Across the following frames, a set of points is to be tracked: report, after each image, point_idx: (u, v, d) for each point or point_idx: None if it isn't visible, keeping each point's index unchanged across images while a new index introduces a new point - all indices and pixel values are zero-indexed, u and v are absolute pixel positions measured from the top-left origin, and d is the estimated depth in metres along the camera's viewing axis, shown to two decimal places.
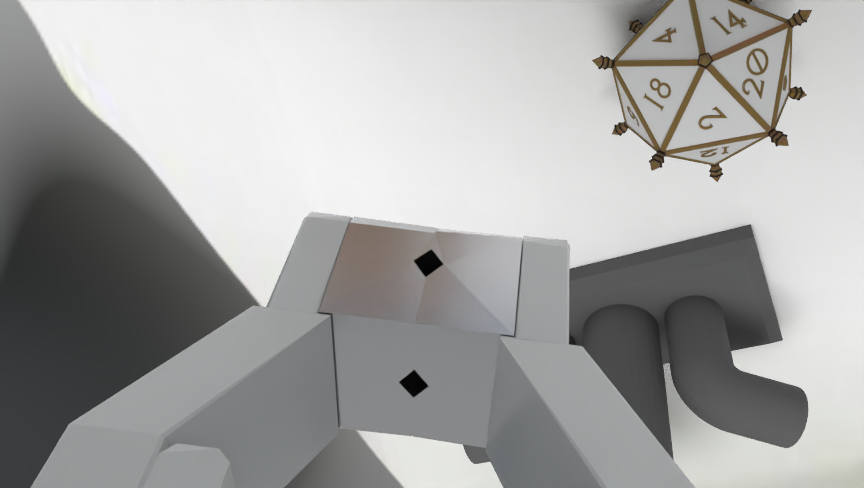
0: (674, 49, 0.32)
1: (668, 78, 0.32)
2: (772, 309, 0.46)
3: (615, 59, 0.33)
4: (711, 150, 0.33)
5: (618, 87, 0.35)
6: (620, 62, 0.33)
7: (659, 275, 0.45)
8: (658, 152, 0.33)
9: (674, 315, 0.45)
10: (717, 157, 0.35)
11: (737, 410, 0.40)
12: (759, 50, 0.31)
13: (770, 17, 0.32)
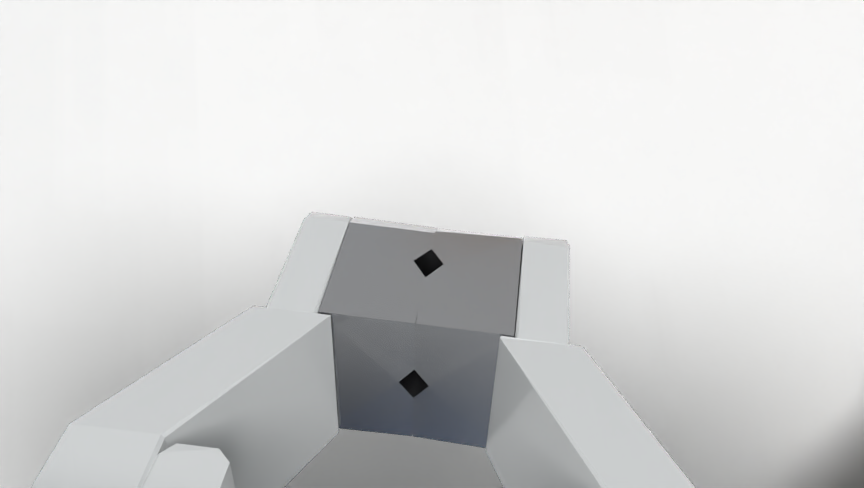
0: None
1: None
2: None
3: None
4: None
5: None
6: None
7: None
8: None
9: None
10: None
11: None
12: None
13: None
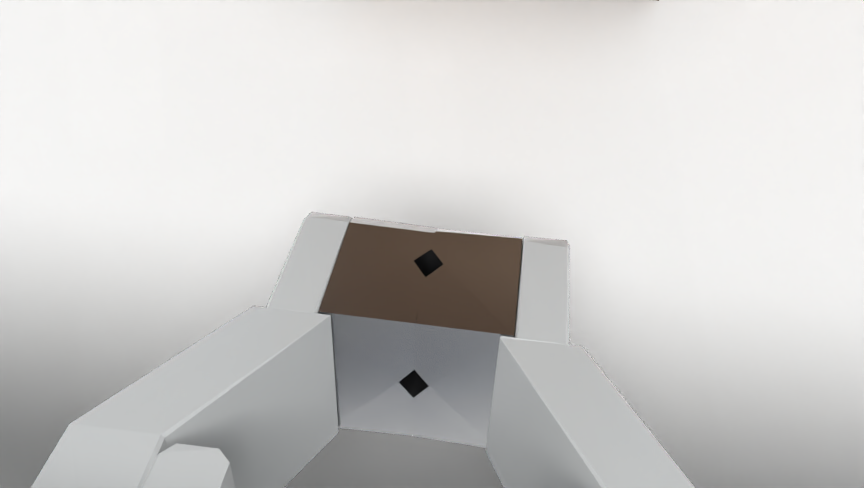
0: None
1: None
2: None
3: None
4: None
5: None
6: None
7: None
8: None
9: None
10: None
11: None
12: None
13: None
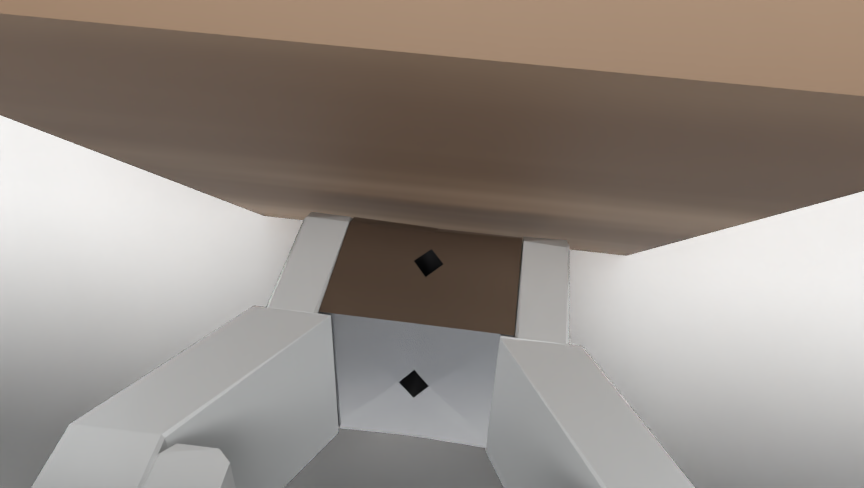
0: None
1: None
2: None
3: None
4: None
5: None
6: None
7: None
8: None
9: None
10: None
11: None
12: None
13: None
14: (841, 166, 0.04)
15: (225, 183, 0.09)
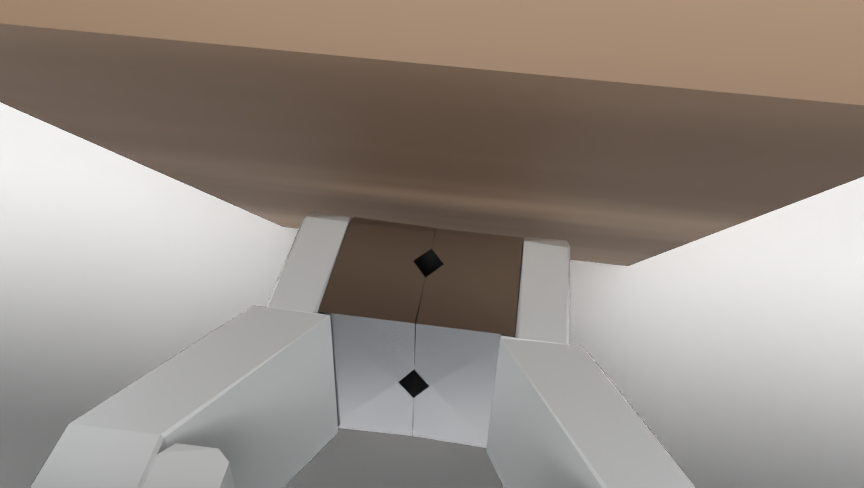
0: None
1: None
2: None
3: None
4: None
5: None
6: None
7: None
8: None
9: None
10: None
11: None
12: None
13: None
14: (797, 166, 0.05)
15: (246, 191, 0.10)
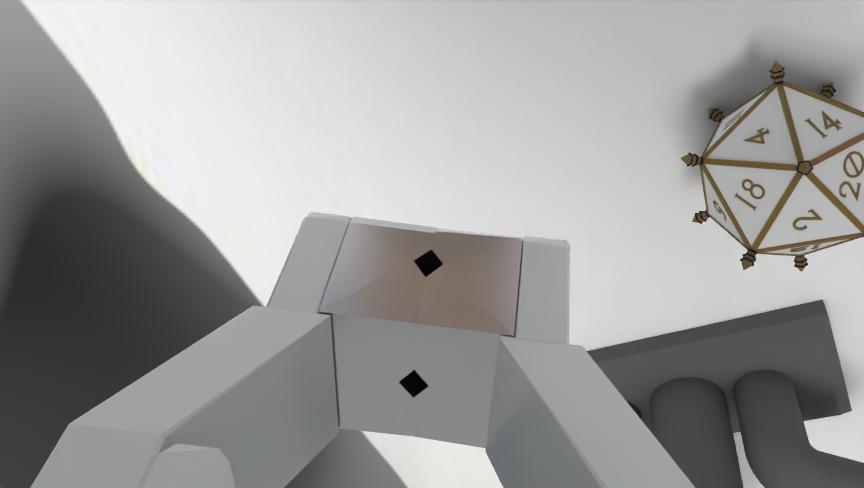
0: (768, 152, 0.31)
1: (762, 180, 0.32)
2: (842, 381, 0.45)
3: (704, 157, 0.33)
4: (802, 247, 0.33)
5: (704, 182, 0.34)
6: (709, 160, 0.33)
7: (730, 350, 0.44)
8: (749, 251, 0.33)
9: (745, 390, 0.45)
10: (805, 250, 0.34)
11: None
12: (855, 153, 0.31)
13: None
14: None
15: None
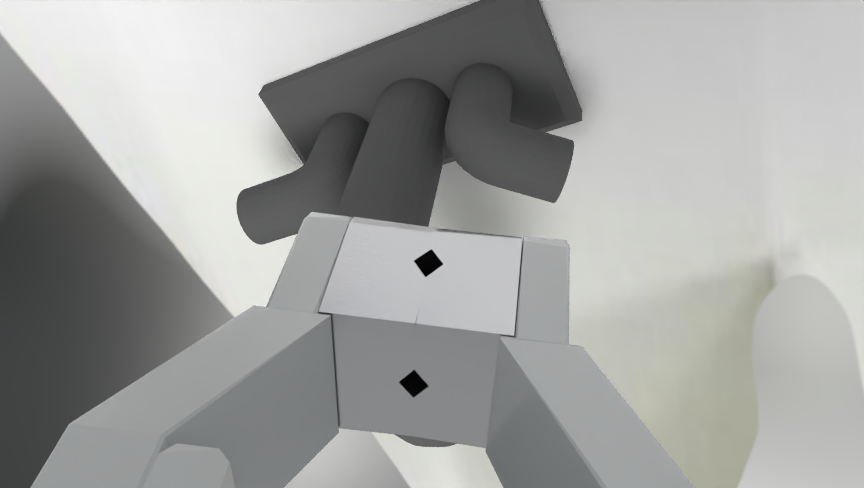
0: None
1: None
2: (564, 81, 0.44)
3: None
4: None
5: None
6: None
7: (440, 40, 0.43)
8: None
9: (457, 82, 0.43)
10: None
11: (497, 153, 0.38)
12: None
13: None
14: None
15: None
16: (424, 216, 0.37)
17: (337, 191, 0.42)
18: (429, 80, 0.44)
